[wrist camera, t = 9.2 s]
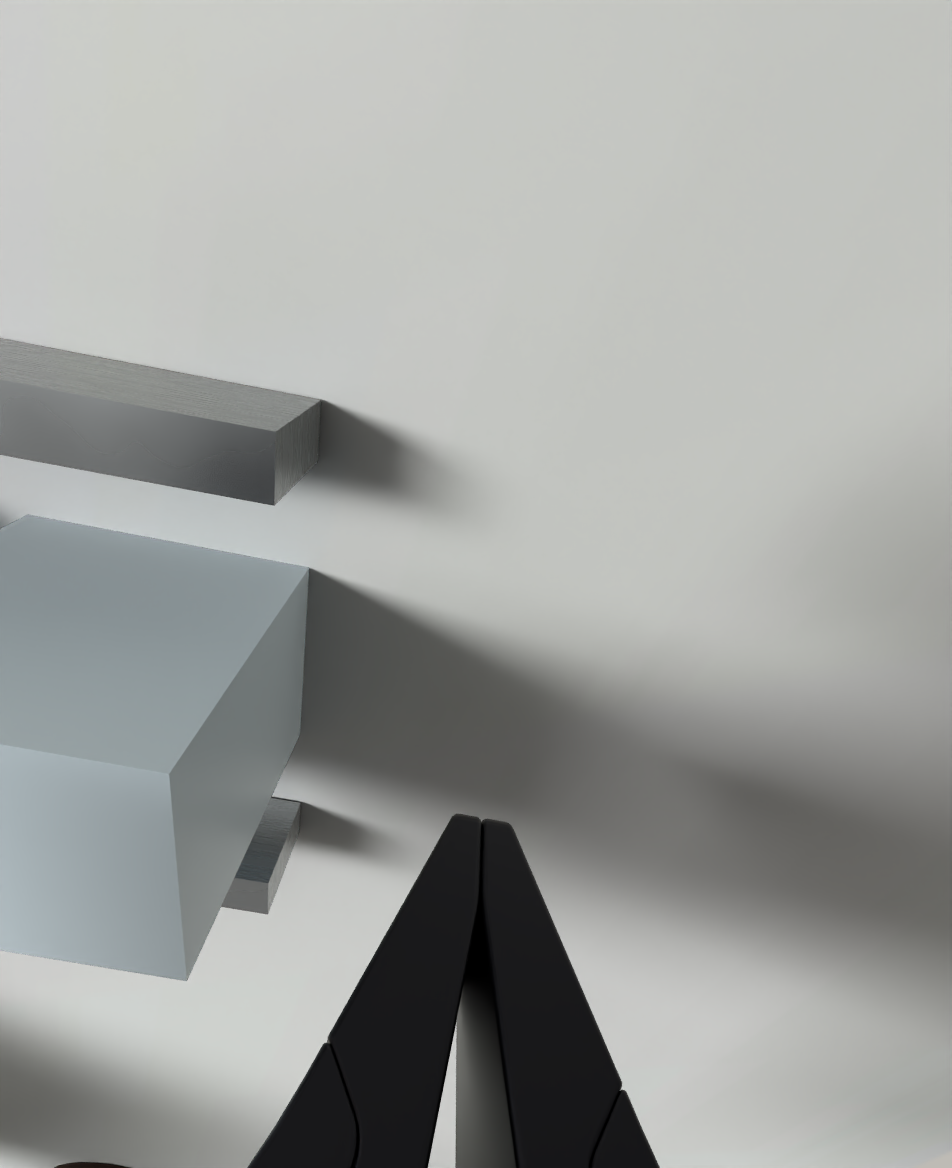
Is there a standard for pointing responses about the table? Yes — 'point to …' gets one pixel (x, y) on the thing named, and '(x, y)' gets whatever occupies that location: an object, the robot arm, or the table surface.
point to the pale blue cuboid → (136, 736)
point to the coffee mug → (88, 1165)
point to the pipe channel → (167, 476)
